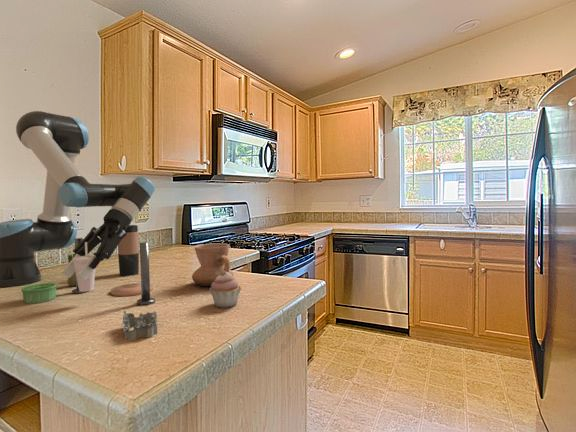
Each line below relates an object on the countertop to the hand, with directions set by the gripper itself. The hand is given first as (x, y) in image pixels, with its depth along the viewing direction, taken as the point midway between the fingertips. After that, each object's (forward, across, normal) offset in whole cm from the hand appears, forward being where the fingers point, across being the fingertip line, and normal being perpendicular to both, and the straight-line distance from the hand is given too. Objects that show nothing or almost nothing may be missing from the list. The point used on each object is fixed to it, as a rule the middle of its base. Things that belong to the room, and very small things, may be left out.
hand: (73, 276), depth 98 cm
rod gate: (-2, 0, -15) cm, 15 cm away
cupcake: (-7, -38, -21) cm, 44 cm away
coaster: (-7, 0, -21) cm, 22 cm away
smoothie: (+1, 0, -6) cm, 6 cm away
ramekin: (+6, +18, -7) cm, 21 cm away
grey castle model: (+10, -31, -4) cm, 33 cm away
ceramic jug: (-20, -20, -34) cm, 44 cm away
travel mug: (-20, +23, -34) cm, 45 cm away
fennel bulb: (-5, +25, -19) cm, 32 cm away
